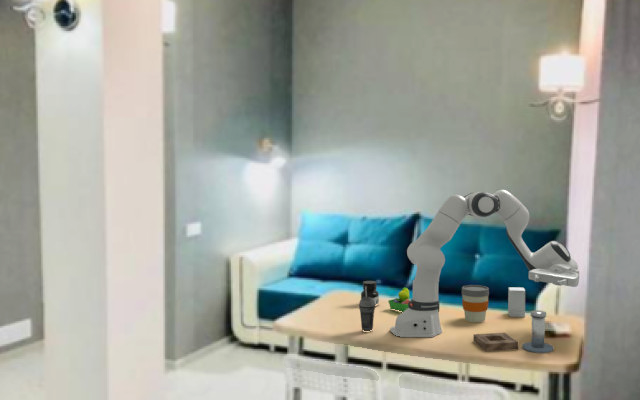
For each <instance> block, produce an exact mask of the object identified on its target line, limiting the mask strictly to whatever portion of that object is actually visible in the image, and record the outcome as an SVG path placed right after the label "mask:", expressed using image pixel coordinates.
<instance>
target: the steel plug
mask: <svg viewBox="0 0 640 400" xmlns="http://www.w3.org/2000/svg"><path fill="white" fill-rule="evenodd" d="M530 317H531V341H530V342H531V346H532V347H534V348H544V343H545V339H546V337H545V334H546V333H545V330H546V328H545V327H546V325H545V324H546V323H545V322H546V318H547V312H546V311H545V310H538V309H537V310H531V311H530Z"/></svg>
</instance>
